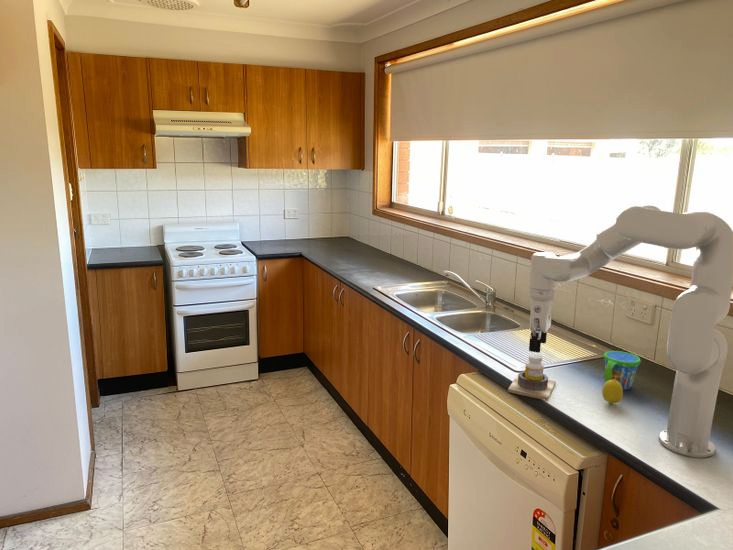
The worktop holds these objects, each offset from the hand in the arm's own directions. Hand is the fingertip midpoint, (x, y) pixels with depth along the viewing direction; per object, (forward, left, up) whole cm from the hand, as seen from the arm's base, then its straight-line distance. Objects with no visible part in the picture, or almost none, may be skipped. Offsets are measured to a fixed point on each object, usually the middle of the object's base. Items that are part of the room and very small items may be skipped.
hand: (537, 347), depth 172 cm
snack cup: (+16, -24, -14) cm, 32 cm away
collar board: (0, 0, -14) cm, 14 cm away
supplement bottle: (0, 0, -13) cm, 13 cm away
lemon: (0, -23, -14) cm, 27 cm away
